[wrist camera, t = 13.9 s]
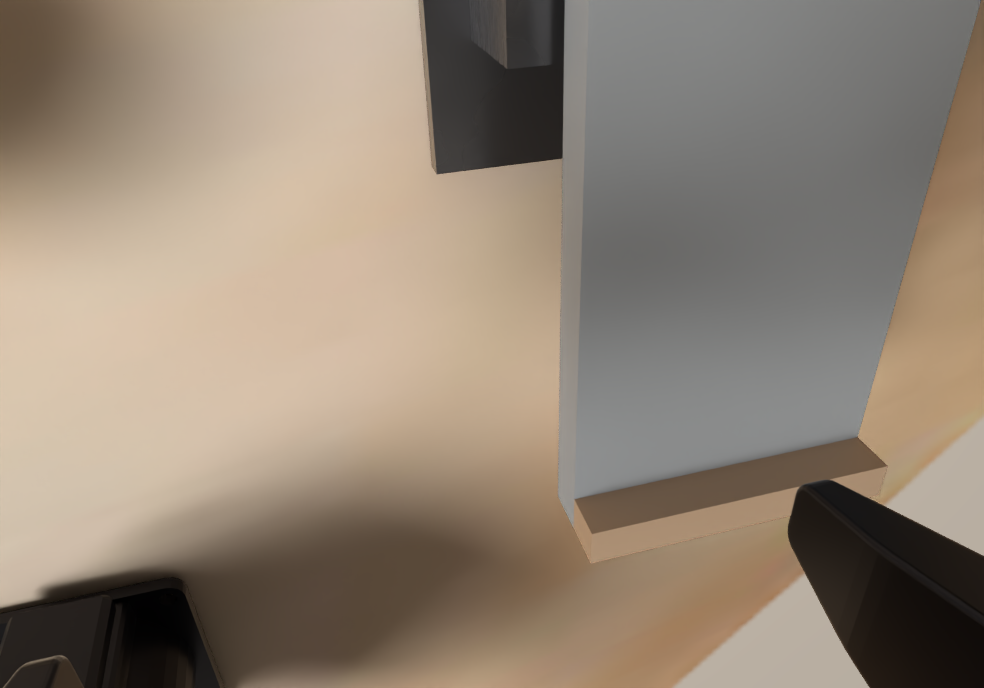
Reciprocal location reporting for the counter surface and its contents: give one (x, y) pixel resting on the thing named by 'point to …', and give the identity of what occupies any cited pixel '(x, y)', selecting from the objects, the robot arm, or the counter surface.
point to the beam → (735, 248)
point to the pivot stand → (493, 81)
